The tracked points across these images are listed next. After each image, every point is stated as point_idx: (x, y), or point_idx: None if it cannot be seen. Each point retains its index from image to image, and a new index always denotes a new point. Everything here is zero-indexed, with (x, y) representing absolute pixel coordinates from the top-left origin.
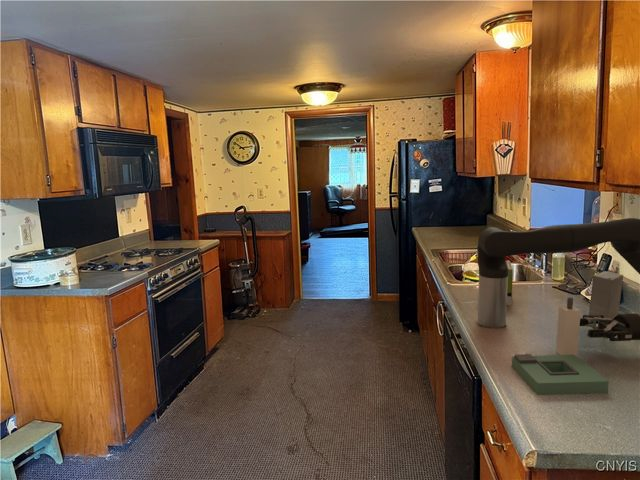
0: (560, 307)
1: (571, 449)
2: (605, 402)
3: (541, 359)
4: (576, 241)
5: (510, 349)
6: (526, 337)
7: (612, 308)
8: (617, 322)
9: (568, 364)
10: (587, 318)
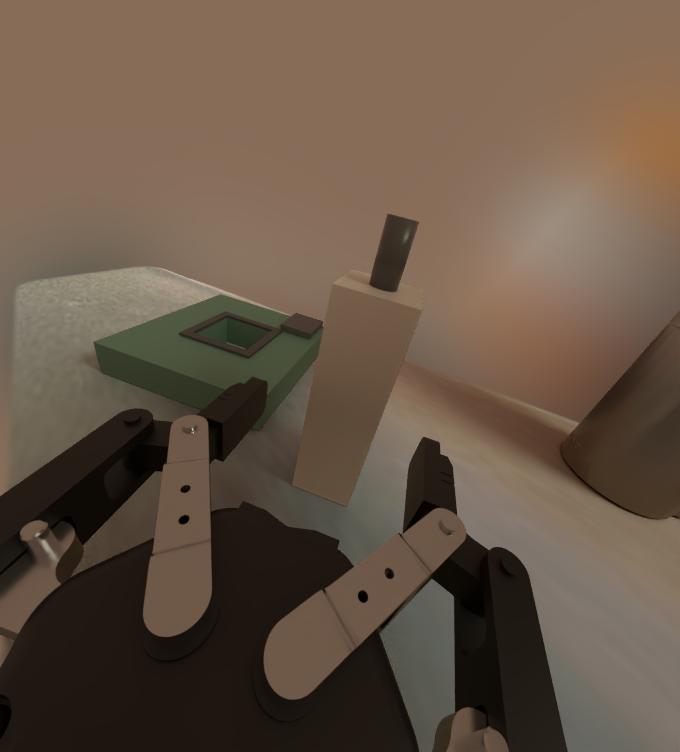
0: (407, 286)
1: (113, 271)
2: None
3: (287, 343)
4: None
5: (401, 393)
6: (490, 478)
7: None
8: (148, 627)
9: (225, 347)
10: (429, 517)
